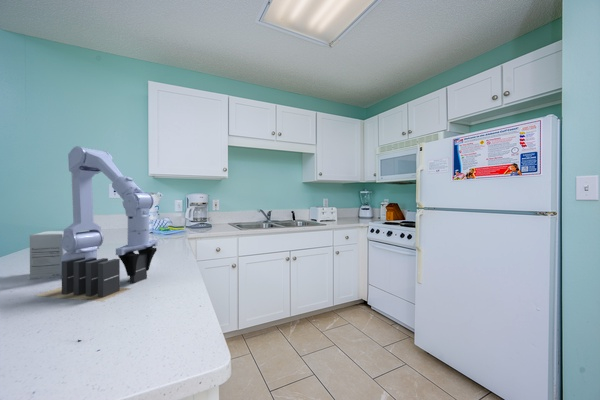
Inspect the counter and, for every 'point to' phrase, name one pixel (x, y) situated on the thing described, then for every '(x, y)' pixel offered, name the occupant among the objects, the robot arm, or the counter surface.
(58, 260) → the supplement box
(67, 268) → the domino
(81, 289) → the domino
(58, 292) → the board
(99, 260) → the domino
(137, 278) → the domino
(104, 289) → the domino
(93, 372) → the counter surface
